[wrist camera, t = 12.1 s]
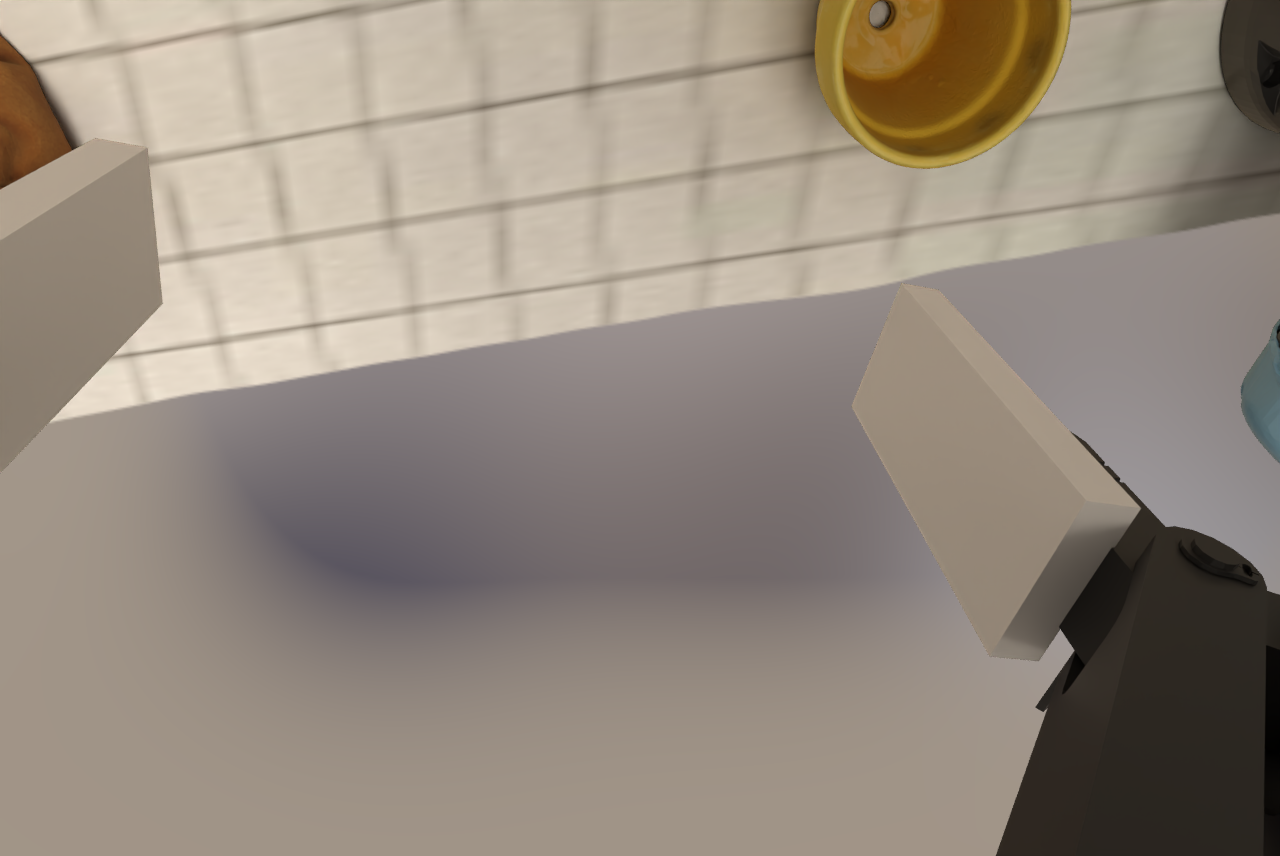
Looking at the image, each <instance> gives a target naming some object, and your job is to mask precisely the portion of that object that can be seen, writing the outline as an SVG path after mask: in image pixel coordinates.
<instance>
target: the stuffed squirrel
mask: <svg viewBox="0 0 1280 856" xmlns="http://www.w3.org/2000/svg"><path fill="white" fill-rule="evenodd" d="M71 151H72V149H71V147H70V145H69V143H68V141H67V140H66V138H65V135H64V133H63V131H62V129H61V127H60V125H59V123H58V121H57V120H56V118H55V116H54V114H53V112H52V110H51V108H50V106H49V104H48V102H47V100H46V99H45V96H44V94H43V92H42V90H41V87H40V85H39V83H38V80H37V78H36V75H35V74H34V72H33V70H32V69H31V67H30V66H29V64H28V63H27V62H26V61H25V60H24V59H23V58H22V57H21V55H19V54H18V52H17V51H16V50H15V49H13V48H12V47H11V46H10V44H9V43H8V42H7V41H6V40H5V39H3V38H2V37H1V36H0V189H2V188H4V187H6V186H8V185H10V184H11V183H13V182H15V181H17V180H19V179H21V178H23V177H24V176H26V175H28V174H30V173H32V172H34V171H36V170H37V169H39V168H41V167H43V166H45V165H47V164H48V163H50V162H52V161H54V160H56V159H58V158H60V157H61V156H63V155H65V154H67V153H69V152H71Z"/></svg>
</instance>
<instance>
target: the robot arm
mask: <svg viewBox="0 0 1280 856" xmlns="http://www.w3.org/2000/svg"><path fill="white" fill-rule="evenodd" d="M1221 60H1222V69H1223V74H1224V78H1225V82H1226V85H1227V88H1228V90H1229V93H1230V95H1231V97H1232V99H1233V100H1234V102H1235V104H1236V105H1237V106H1238V108H1239V109H1240V110H1241V111H1242V112H1243V113H1244V114H1245V115H1246V116H1247V117H1248V118H1249V119H1250V120H1252V121H1253V122H1255V123H1256V124H1258V125H1260V126H1262V127H1264V128H1266V129H1268V130H1271V131H1274V132H1277V133H1280V0H1229V2H1228V6H1227V9H1226V14H1225V18H1224V24H1223V30H1222V39H1221ZM162 304H163V303H162V292H161V282H160V272H159V262H158V251H157V241H156V231H155V221H154V210H153V200H152V190H151V180H150V170H149V159H148V149H147V147H141V146H136V145H130V144H125V143H119V142H113V141H108V140H102V139H97V138H95V139H93V140H91V141H89V142H87V143H85V144H84V145H82V146H80V147H78V148H76V149H74V150H72V151H71V152H69V153H67V154H65V155H63V156H61V157H60V158H58V159H56V160H54V161H52V162H50V163H48V164H47V165H45V166H43V167H41V168H39V169H37V170H36V171H34V172H32V173H30V174H28V175H26V176H24V177H23V178H21V179H19V180H17V181H15V182H13V183H11V184H10V185H8V186H6V187H4V188H2V189H0V473H1V472H2V471H3V470H4V469H5V468H6V467H7V466H8V465H9V463H11V462H12V461H13V460H14V459H15V457H16V456H17V455H18V454H19V453H20V452H21V451H22V450H23V449H24V448H25V447H26V446H27V445H28V444H29V443H30V442H31V441H32V440H33V438H35V437H36V436H37V434H38V433H39V432H40V431H41V430H42V429H43V428H44V427H45V426H46V425H47V424H48V423H49V422H50V421H51V420H52V419H53V418H54V417H55V416H56V415H57V414H58V413H59V411H60V410H61V409H62V408H63V407H64V406H65V405H66V404H67V403H68V402H69V401H70V400H71V399H72V398H73V397H74V396H75V395H76V394H77V393H78V392H79V391H80V389H81V388H82V387H83V386H84V385H85V384H86V383H87V382H88V381H89V380H90V379H91V378H92V377H93V376H94V375H95V374H96V373H97V372H98V371H99V370H100V369H101V368H102V366H103V365H104V364H105V363H106V362H107V361H108V360H109V359H110V358H111V357H112V356H113V355H114V354H115V353H116V352H117V351H118V350H119V349H120V348H121V347H122V346H123V345H124V343H125V342H126V341H127V340H128V339H129V338H130V337H131V336H132V335H133V334H134V333H135V332H136V331H137V330H138V329H139V328H140V327H141V326H142V325H143V324H144V323H145V322H146V320H147V319H148V318H149V317H150V316H151V315H152V314H153V313H154V312H155V311H156V310H157V309H158V308H159V307H160V306H161V305H162ZM1241 396H1242V397H1241V399H1242V403H1241V408H1242V412H1243V415H1244V417H1245V419H1246V422H1247V423H1248V426H1249V427H1250V429H1251V430H1252V432H1253V434H1254V435H1255V437H1256V438H1257V439H1258V441H1259V442H1260V443H1261V444H1262V445H1263V447H1264V448H1265V449H1266V450H1267V451H1268V452H1269V453H1270V454H1271V455H1272V456H1273V457H1274V459H1275V460H1277V461H1278V462H1279V463H1280V319H1279V321H1278V322H1277V323H1276V324H1275V326H1274V328H1273V330H1272V334H1271V336H1270V340H1269V343H1268V344H1267V346H1266V347H1265V348H1264V350H1263V351H1262V353H1261V354H1260V356H1259V357H1258V359H1257V360H1256V362H1255V363H1254V364H1253V366H1252V367H1251V369H1250V370H1249V372H1248V373H1247V375H1246V377H1245V378H1244V381H1243V383H1242V386H1241ZM851 407H852V408H853V410H854V412H855V414H856V416H857V418H858V420H859V421H860V423H861V425H862V427H863V428H864V430H865V432H866V434H867V436H868V438H869V439H870V441H871V443H872V445H873V447H874V448H875V450H876V452H877V454H878V456H879V457H880V459H881V461H882V463H883V465H884V467H885V468H886V470H887V472H888V474H889V475H890V477H891V479H892V481H893V483H894V485H895V486H896V488H897V490H898V492H899V493H900V495H901V497H902V499H903V501H904V503H905V505H906V506H907V508H908V510H909V512H910V513H911V515H912V517H913V519H914V521H915V522H916V524H917V526H918V528H919V530H920V532H921V533H922V535H923V537H924V539H925V541H926V542H927V544H928V546H929V548H930V550H931V551H932V553H933V555H934V557H935V559H936V561H937V562H938V564H939V566H940V568H941V570H942V571H943V573H944V575H945V577H946V579H947V580H948V582H949V584H950V586H951V588H952V589H953V591H954V593H955V595H956V597H957V598H958V600H959V602H960V604H961V606H962V608H963V609H964V611H965V613H966V615H967V617H968V618H969V620H970V622H971V624H972V626H973V627H974V629H975V631H976V633H977V635H978V636H979V638H980V640H981V642H982V644H983V645H984V647H985V649H986V651H987V653H988V655H989V656H990V657H999V658H1011V659H1020V660H1031V661H1039V660H1040V658H1041V657H1042V656H1043V654H1044V653H1045V651H1046V649H1047V648H1048V647H1049V645H1050V644H1051V642H1052V641H1053V639H1054V638H1055V636H1056V635H1057V633H1058V632H1059V630H1060V629H1061V631H1062V632H1063V633H1064V635H1065V636H1066V638H1067V639H1068V641H1069V643H1070V644H1071V645H1072V647H1073V648H1074V650H1075V651H1074V652H1073V654H1072V655H1071V657H1070V658H1069V660H1068V661H1067V662H1066V664H1065V665H1064V667H1063V668H1062V670H1061V671H1060V673H1059V674H1058V675H1057V677H1056V678H1055V680H1054V681H1053V683H1052V684H1051V686H1050V687H1049V688H1048V690H1047V691H1046V693H1045V694H1044V696H1043V697H1042V698H1041V700H1040V701H1039V703H1038V704H1037V706H1036V708H1037V709H1039V710H1041V711H1043V712H1044V711H1045V710H1046V709H1047V708H1048V709H1047V712H1046V714H1045V717H1044V720H1043V723H1042V726H1041V729H1040V732H1039V734H1038V738H1037V740H1036V743H1035V746H1034V748H1033V751H1032V754H1031V757H1030V760H1029V763H1028V766H1027V768H1026V771H1025V774H1024V777H1023V780H1022V783H1021V786H1020V788H1019V792H1018V794H1017V797H1016V800H1015V803H1014V805H1013V808H1012V811H1011V814H1010V817H1009V820H1008V823H1007V825H1006V829H1005V831H1004V834H1003V837H1002V840H1001V842H1000V845H999V849H998V851H997V854H996V856H1280V595H1279V594H1275V593H1272V592H1269V591H1267V587H1266V584H1265V581H1264V578H1263V576H1262V575H1261V574H1260V573H1259V571H1258V570H1257V569H1256V568H1255V567H1254V566H1253V565H1252V563H1250V562H1249V561H1248V560H1247V559H1245V558H1244V557H1243V556H1241V555H1240V554H1239V553H1237V552H1236V551H1235V550H1234V549H1232V548H1230V547H1228V546H1227V545H1225V544H1223V543H1221V542H1220V541H1217V540H1216V539H1214V538H1212V537H1209V536H1207V535H1204V534H1202V533H1199V532H1197V531H1194V530H1190V529H1185V528H1180V527H1175V526H1173V527H1165V526H1164V525H1163V524H1162V523H1161V522H1160V520H1159V519H1158V518H1157V517H1156V516H1155V515H1154V514H1153V513H1152V512H1151V511H1150V510H1149V509H1148V508H1147V507H1146V506H1145V505H1144V503H1143V502H1142V501H1141V500H1140V499H1139V498H1138V497H1137V496H1136V495H1135V494H1134V493H1133V492H1132V491H1131V490H1130V489H1129V487H1128V486H1127V485H1126V484H1125V483H1121V482H1120V478H1119V477H1118V476H1117V475H1116V474H1115V473H1114V471H1113V470H1112V469H1111V468H1110V467H1109V466H1104V463H1105V462H1104V461H1103V460H1102V459H1101V458H1100V457H1099V456H1098V454H1097V453H1096V452H1095V451H1094V450H1093V449H1092V448H1091V447H1090V446H1089V445H1088V444H1087V443H1086V442H1085V441H1084V440H1082V439H1081V438H1079V437H1078V436H1076V435H1075V434H1073V433H1072V432H1070V431H1069V430H1068V429H1067V428H1066V427H1065V426H1064V425H1063V424H1062V422H1061V421H1060V420H1059V419H1057V417H1056V416H1055V415H1054V414H1053V413H1052V412H1051V411H1050V410H1049V408H1048V407H1047V406H1046V405H1045V404H1044V403H1043V402H1042V401H1041V400H1040V399H1039V398H1038V397H1037V396H1036V394H1035V393H1034V392H1033V391H1032V390H1031V389H1030V388H1029V387H1028V386H1027V385H1026V384H1025V383H1024V382H1023V381H1022V379H1021V378H1020V377H1019V376H1018V375H1017V374H1016V373H1015V372H1014V371H1013V370H1012V369H1011V368H1010V366H1009V365H1008V364H1007V363H1006V362H1005V361H1004V360H1003V359H1002V358H1001V357H1000V356H999V355H998V354H997V352H996V351H995V350H994V349H993V348H992V347H991V346H990V345H989V344H988V343H987V342H986V341H985V339H984V338H982V336H981V335H980V334H979V333H978V332H977V331H976V330H975V329H974V328H973V327H972V325H971V324H970V323H969V322H968V321H967V320H966V319H965V318H964V317H963V316H962V315H961V314H960V313H959V311H958V310H957V309H956V308H955V307H954V306H953V305H952V304H951V303H950V302H949V301H948V300H947V298H946V297H944V295H943V294H942V293H941V292H940V291H939V290H937V289H931V288H926V287H920V286H915V285H909V284H903V283H901V285H900V288H899V290H898V293H897V295H896V297H895V300H894V302H893V305H892V307H891V310H890V312H889V315H888V317H887V320H886V322H885V325H884V327H883V330H882V332H881V334H880V337H879V339H878V342H877V344H876V347H875V350H874V352H873V354H872V357H871V359H870V362H869V364H868V367H867V369H866V372H865V374H864V377H863V379H862V381H861V384H860V386H859V389H858V392H857V394H856V396H855V399H854V401H853V404H852V406H851Z"/></svg>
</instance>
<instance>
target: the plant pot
mask: <svg viewBox="0 0 1280 856" xmlns="http://www.w3.org/2000/svg"><path fill="white" fill-rule="evenodd" d="M878 1H881V0H820V2H819V7H818V12H817V21H816V26H817V31H816V39H815V63H816V72H817V78H818V82H819V85H820V88H821V91H822V94H823V96H824V99H825V101H826V103H827V105H828V107H829V109H830V110H831V112H832V114H833V115H834V116H835V118H836V119H837V120H838V122H839V123H840V124H841V125H842V126H843V127H844V128H845V130H846V131H847V132H848V133H849V134H850V135H851V136H852V137H853V138H854V139H856V140H857V141H858V142H859V143H860V144H861V145H863V146H864V147H865V148H866V149H868V150H869V151H870V152H872V153H873V154H875V155H876V156H878V157H880V158H882V159H884V160H886V161H888V162H891V163H894V164H896V165H900V166H904V167H910V168H921V169H930V168H940V167H946V166H951V165H954V164H958V163H961V162H964V161H967V160H969V159H972V158H974V157H976V156H978V155H980V154H982V153H984V152H986V151H987V150H989V149H991V148H992V147H994V146H996V145H997V144H998V143H1000V142H1001V141H1003V140H1004V139H1005V138H1006V137H1008V136H1009V135H1010V134H1011V133H1012V132H1014V131H1015V130H1016V129H1017V128H1018V127H1019V126H1020V125H1021V124H1022V123H1023V122H1024V121H1025V120H1026V119H1027V117H1028V116H1029V115H1030V114H1031V113H1032V112H1033V110H1034V109H1035V108H1036V106H1037V105H1038V104H1039V102H1040V101H1041V99H1042V98H1043V96H1044V95H1045V93H1046V92H1047V90H1048V88H1049V86H1050V85H1051V83H1052V81H1053V79H1054V77H1055V75H1056V72H1057V70H1058V68H1059V65H1060V63H1061V60H1062V57H1063V54H1064V50H1065V47H1066V43H1067V39H1068V34H1069V27H1070V19H1071V0H884V1H886V2H888V3H889V5H890V7H891V15H890V18H889V20H888V22H887V23H886V24H885V25H884V26H882V27H880V28H875V27H873V26H872V25H871V23H870V20H869V13H870V10H871V8H872V6H873V5H874V4H875V3H876V2H878Z"/></svg>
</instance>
